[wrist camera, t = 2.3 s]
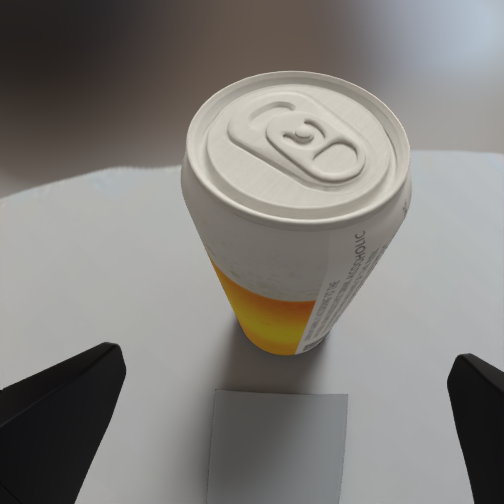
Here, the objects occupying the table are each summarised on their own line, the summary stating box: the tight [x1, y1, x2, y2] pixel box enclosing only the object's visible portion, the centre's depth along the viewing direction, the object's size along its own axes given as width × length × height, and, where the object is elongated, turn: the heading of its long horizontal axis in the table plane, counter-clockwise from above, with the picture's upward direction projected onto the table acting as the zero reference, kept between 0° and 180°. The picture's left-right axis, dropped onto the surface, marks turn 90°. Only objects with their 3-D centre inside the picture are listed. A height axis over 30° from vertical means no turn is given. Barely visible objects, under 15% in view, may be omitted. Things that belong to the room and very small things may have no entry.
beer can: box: [181, 71, 412, 355], centre depth 13 cm, size 6×6×15 cm
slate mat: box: [206, 389, 348, 504], centre depth 16 cm, size 8×8×1 cm
